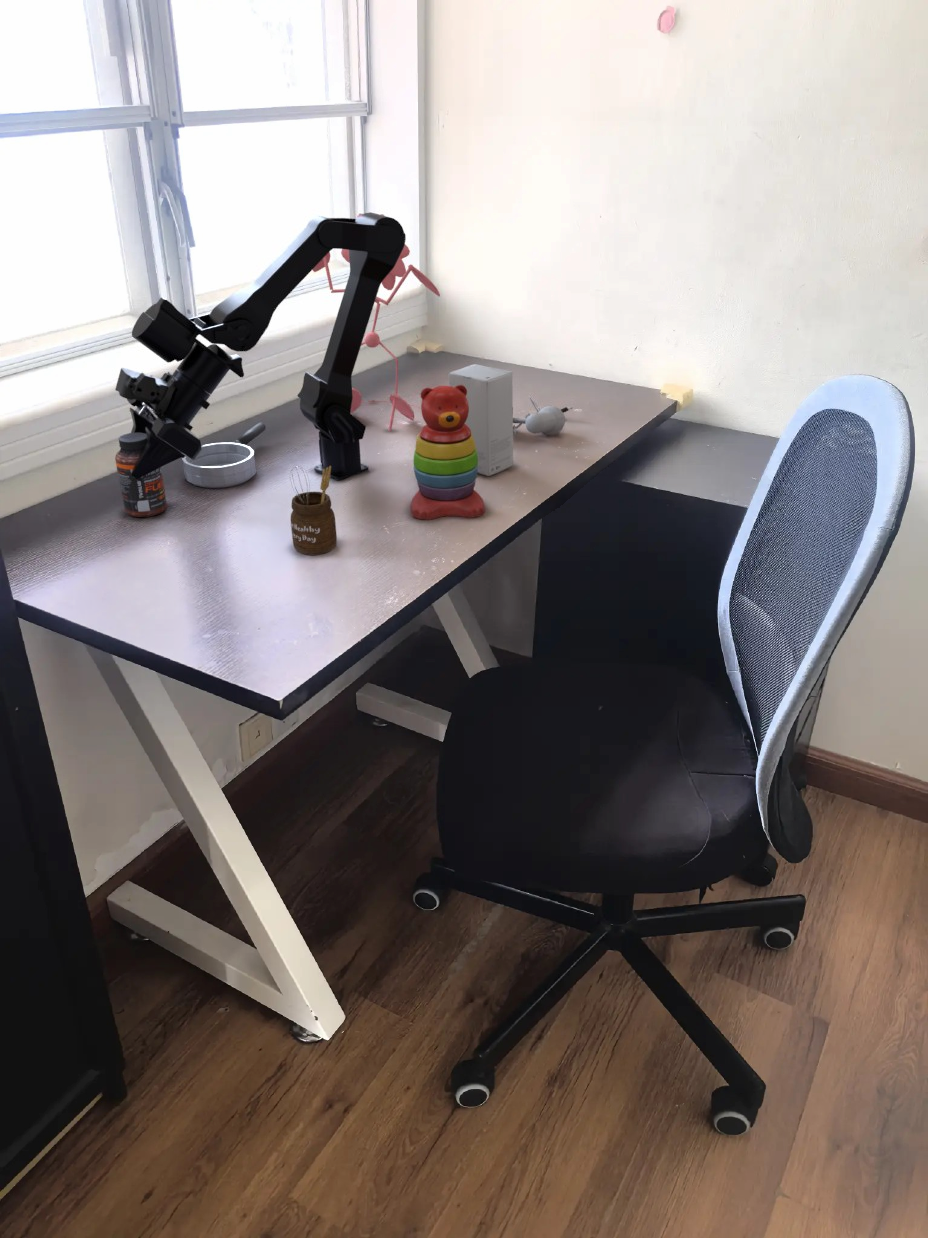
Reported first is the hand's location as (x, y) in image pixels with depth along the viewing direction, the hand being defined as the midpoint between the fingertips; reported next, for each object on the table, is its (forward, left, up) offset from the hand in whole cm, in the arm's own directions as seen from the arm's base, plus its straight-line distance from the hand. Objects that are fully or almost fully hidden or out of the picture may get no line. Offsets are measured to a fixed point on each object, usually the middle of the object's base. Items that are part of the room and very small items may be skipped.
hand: (128, 469), depth 132 cm
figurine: (+6, -54, -7) cm, 55 cm away
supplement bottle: (0, -1, -7) cm, 7 cm away
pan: (+3, -17, -7) cm, 18 cm away
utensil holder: (-28, -11, -7) cm, 31 cm away
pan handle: (+9, -26, -5) cm, 28 cm away
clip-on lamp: (-19, -67, -7) cm, 70 cm away
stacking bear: (-31, -33, -7) cm, 46 cm away
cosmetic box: (-24, -48, -7) cm, 54 cm away
